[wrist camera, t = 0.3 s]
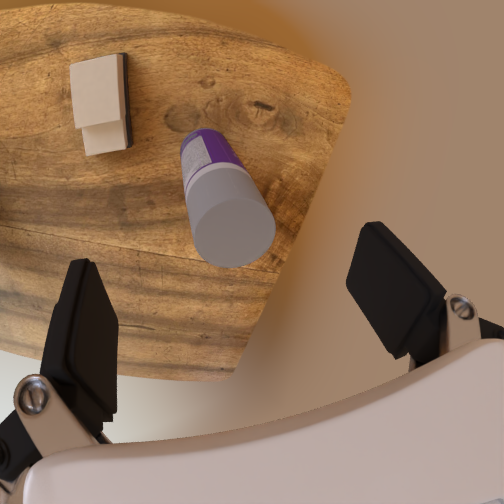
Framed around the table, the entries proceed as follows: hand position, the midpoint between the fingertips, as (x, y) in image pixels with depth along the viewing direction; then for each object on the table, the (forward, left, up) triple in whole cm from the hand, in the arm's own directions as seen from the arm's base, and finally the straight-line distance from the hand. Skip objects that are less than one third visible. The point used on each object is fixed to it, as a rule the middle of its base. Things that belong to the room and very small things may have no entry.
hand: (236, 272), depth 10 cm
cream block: (-4, -8, -20) cm, 22 cm away
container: (+2, +1, -20) cm, 21 cm away
